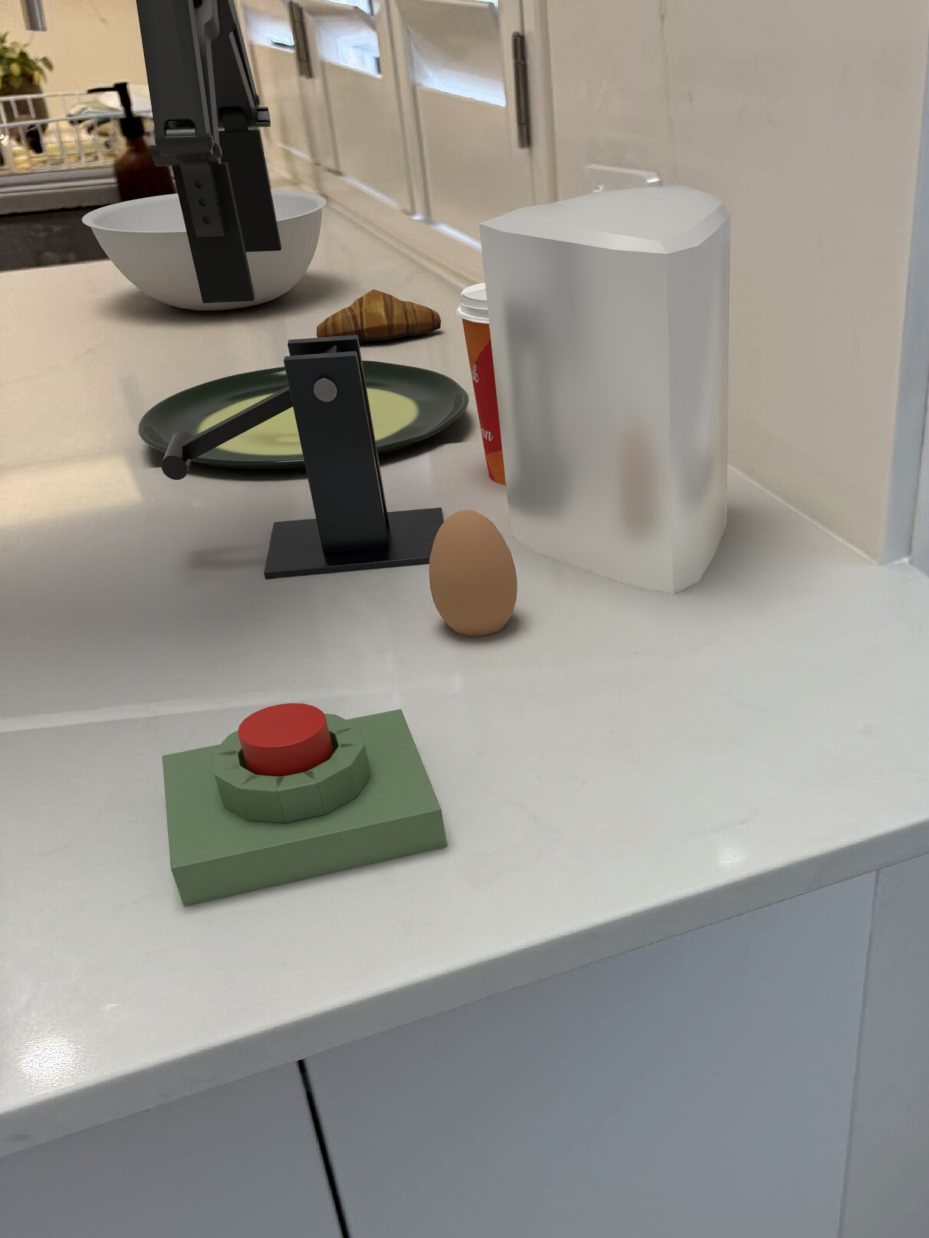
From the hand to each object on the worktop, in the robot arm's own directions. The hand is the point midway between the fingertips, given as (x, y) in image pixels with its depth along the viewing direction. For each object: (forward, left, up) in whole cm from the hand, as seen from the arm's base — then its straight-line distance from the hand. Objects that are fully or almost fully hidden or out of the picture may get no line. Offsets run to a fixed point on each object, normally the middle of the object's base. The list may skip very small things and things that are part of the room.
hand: (245, 274), depth 72 cm
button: (+12, -29, -15) cm, 34 cm away
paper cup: (+11, +17, -19) cm, 28 cm away
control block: (+12, -29, -18) cm, 36 cm away
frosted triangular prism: (+23, +6, -19) cm, 30 cm away
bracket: (+3, +2, -18) cm, 19 cm away
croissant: (-16, +58, -19) cm, 63 cm away
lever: (-1, +1, -9) cm, 10 cm away
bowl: (-41, +73, -19) cm, 86 cm away
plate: (-11, +27, -19) cm, 35 cm away
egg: (+15, -9, -19) cm, 25 cm away
